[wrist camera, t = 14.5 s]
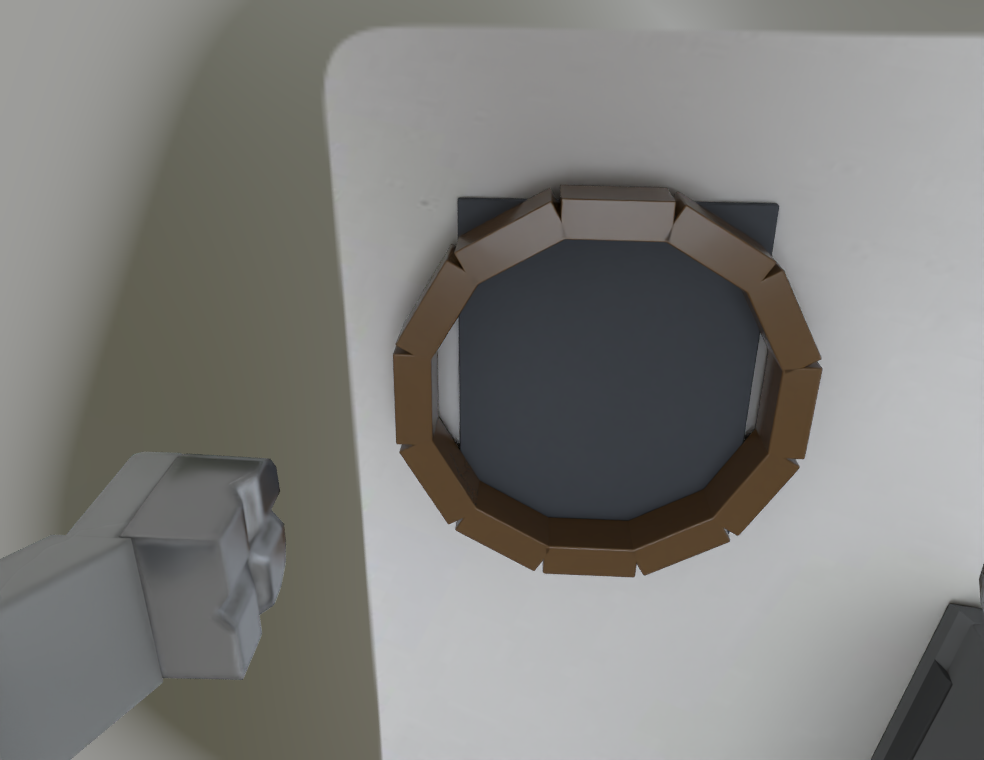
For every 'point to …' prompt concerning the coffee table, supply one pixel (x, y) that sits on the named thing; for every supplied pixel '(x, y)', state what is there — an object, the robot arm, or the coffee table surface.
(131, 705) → the robot arm
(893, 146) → the coffee table surface
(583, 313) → the mat
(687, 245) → the hoop
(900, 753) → the laptop
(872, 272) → the coffee table surface
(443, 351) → the coffee table surface
